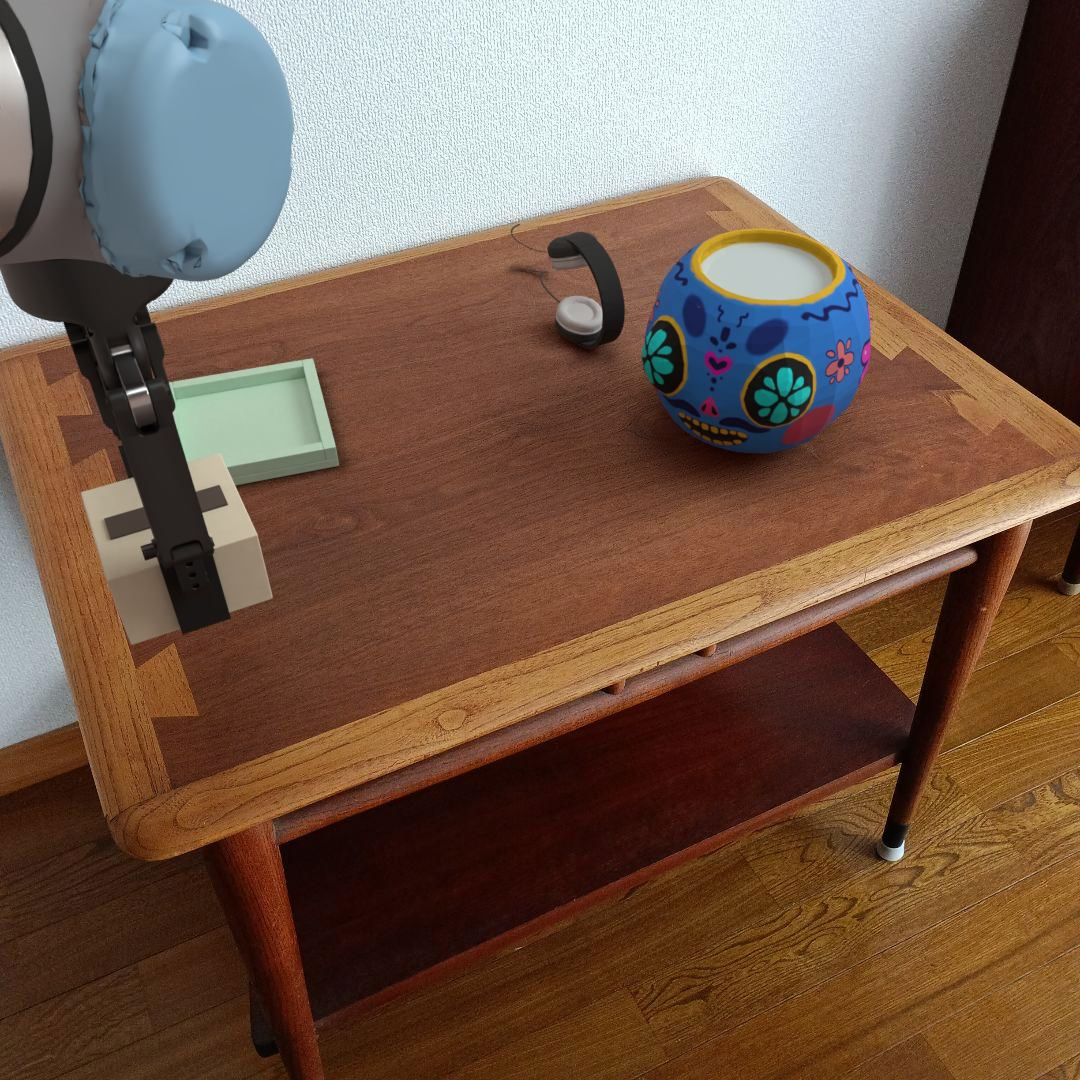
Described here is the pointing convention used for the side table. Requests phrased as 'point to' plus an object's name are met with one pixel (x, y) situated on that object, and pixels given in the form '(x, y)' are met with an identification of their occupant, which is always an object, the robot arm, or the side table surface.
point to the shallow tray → (257, 421)
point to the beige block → (141, 581)
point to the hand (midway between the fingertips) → (186, 572)
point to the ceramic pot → (757, 340)
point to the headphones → (580, 313)
